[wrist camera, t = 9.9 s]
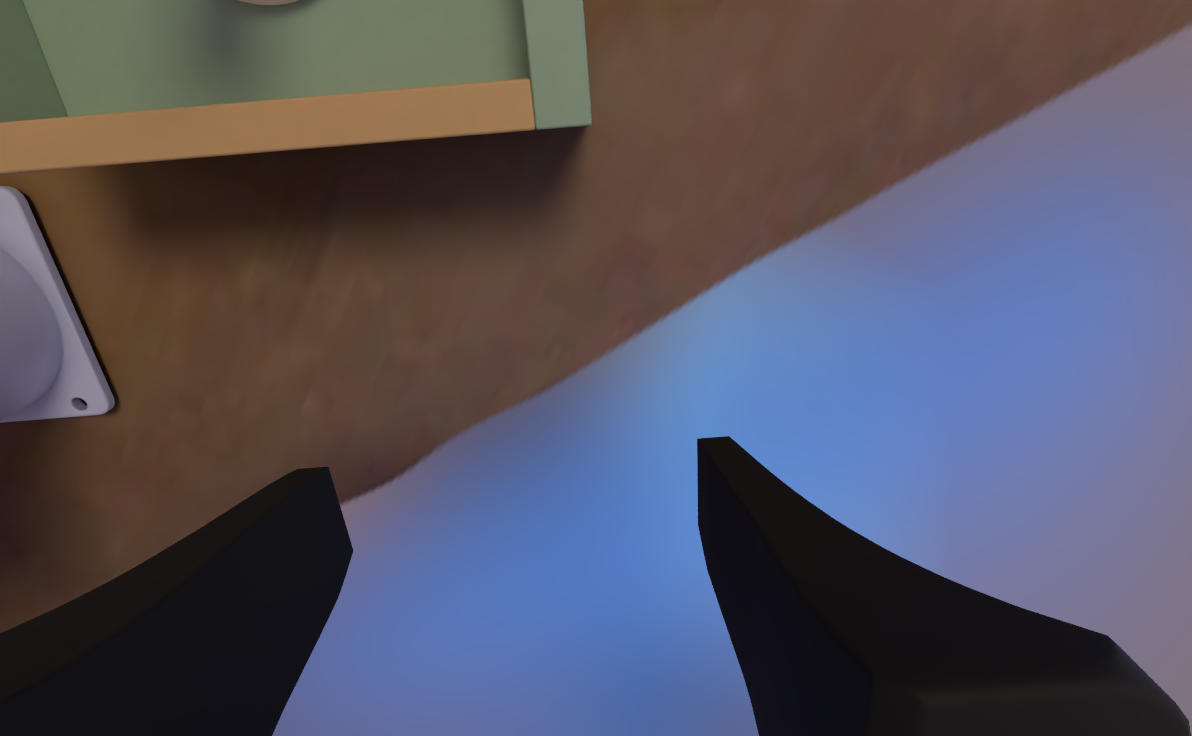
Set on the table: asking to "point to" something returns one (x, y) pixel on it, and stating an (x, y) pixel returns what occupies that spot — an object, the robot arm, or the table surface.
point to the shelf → (277, 75)
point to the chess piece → (269, 2)
